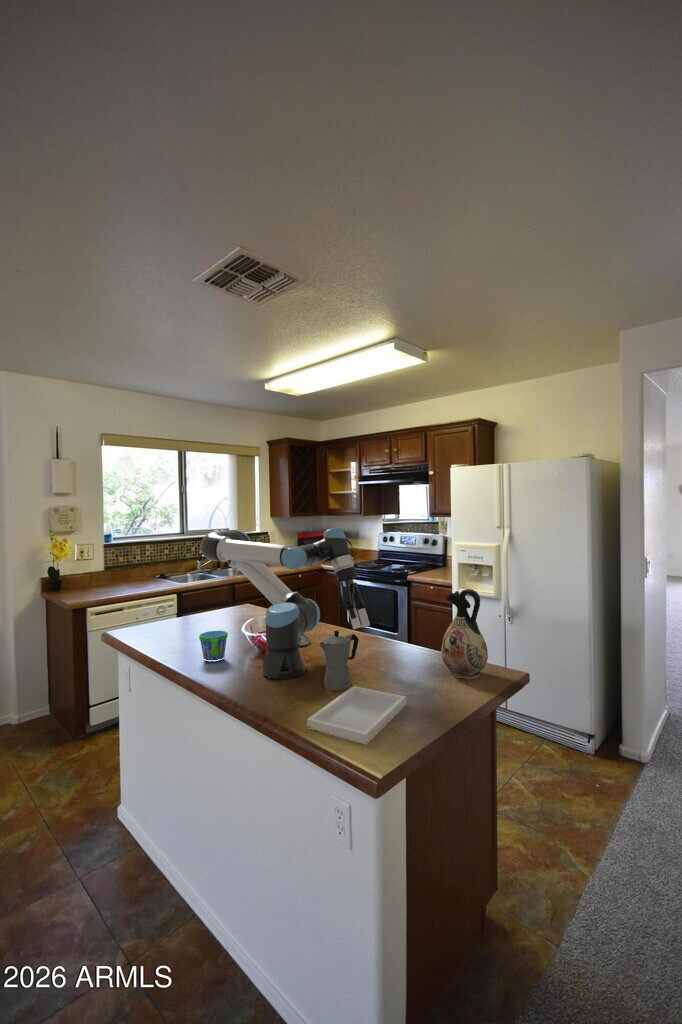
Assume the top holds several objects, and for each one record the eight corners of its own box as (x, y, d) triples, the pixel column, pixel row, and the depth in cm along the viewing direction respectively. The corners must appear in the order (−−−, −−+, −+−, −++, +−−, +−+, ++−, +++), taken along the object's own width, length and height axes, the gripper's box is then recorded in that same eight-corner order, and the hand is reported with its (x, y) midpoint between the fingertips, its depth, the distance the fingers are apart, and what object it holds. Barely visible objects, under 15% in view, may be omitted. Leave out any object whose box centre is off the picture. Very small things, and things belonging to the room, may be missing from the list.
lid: (297, 639, 203) (297, 628, 203) (315, 642, 197) (314, 631, 197) (281, 645, 194) (281, 633, 194) (299, 649, 188) (299, 637, 188)
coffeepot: (328, 695, 141) (327, 637, 141) (312, 686, 149) (311, 631, 148) (367, 683, 150) (366, 628, 150) (350, 675, 158) (349, 623, 157)
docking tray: (307, 728, 120) (306, 719, 120) (353, 693, 142) (353, 685, 142) (366, 744, 111) (365, 734, 111) (406, 705, 133) (405, 696, 133)
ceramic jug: (432, 676, 155) (431, 588, 155) (455, 664, 167) (453, 582, 167) (479, 688, 144) (478, 594, 144) (500, 675, 155) (499, 587, 155)
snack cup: (201, 655, 183) (200, 629, 183) (228, 652, 185) (228, 627, 185) (198, 668, 168) (197, 640, 168) (227, 665, 170) (227, 638, 170)
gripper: (344, 562, 153) (363, 625, 147) (362, 568, 176) (379, 623, 170) (324, 570, 154) (342, 632, 148) (344, 575, 178) (360, 628, 172)
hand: (362, 627), depth 159 cm, fingers open, 13 cm apart
